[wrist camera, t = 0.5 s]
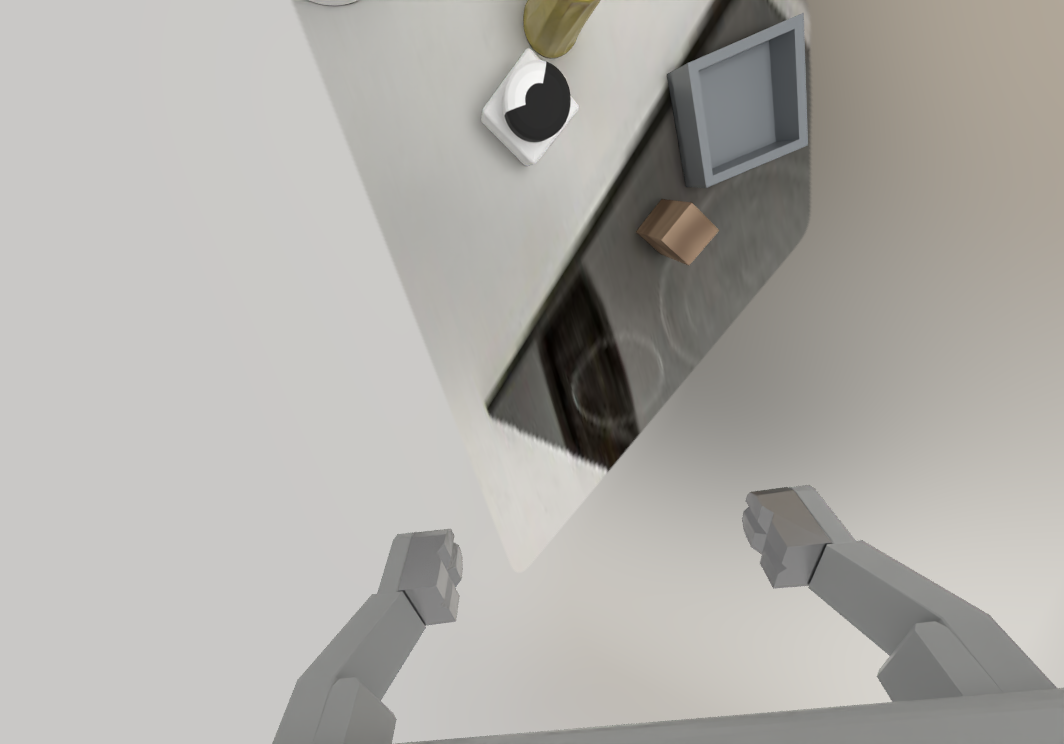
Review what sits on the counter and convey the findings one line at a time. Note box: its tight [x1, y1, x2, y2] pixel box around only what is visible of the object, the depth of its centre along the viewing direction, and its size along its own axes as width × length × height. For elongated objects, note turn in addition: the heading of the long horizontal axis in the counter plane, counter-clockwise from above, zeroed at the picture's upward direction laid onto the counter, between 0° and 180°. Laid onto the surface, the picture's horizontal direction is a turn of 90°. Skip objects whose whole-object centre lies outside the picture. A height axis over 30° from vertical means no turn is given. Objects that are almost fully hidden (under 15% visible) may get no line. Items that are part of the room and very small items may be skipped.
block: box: [636, 199, 719, 265], centre depth 50 cm, size 5×5×8 cm
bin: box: [667, 13, 808, 188], centre depth 46 cm, size 13×13×5 cm
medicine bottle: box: [481, 48, 579, 166], centre depth 40 cm, size 7×7×12 cm
